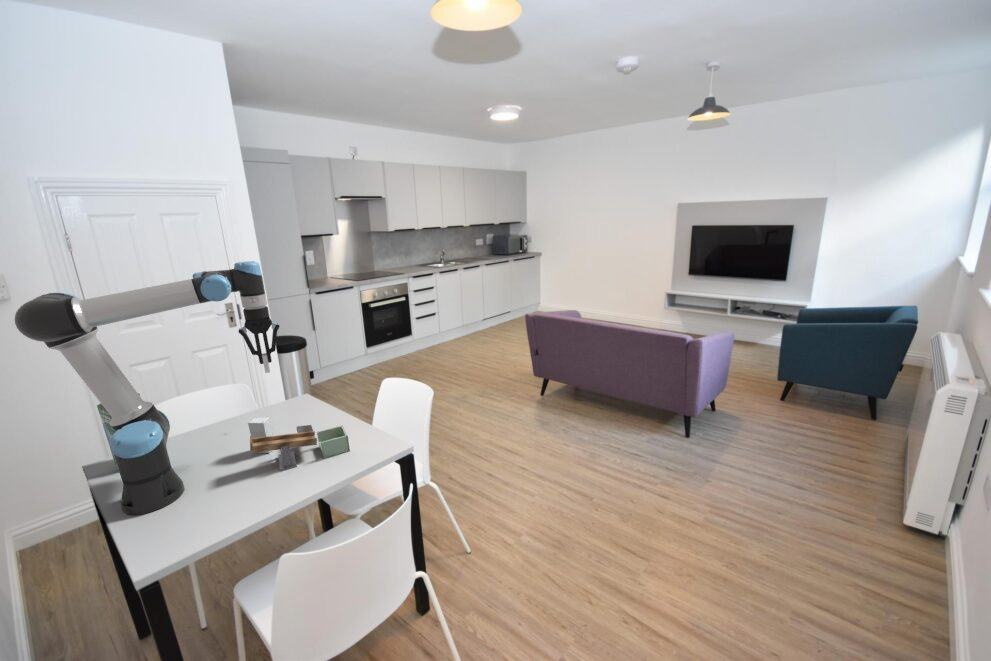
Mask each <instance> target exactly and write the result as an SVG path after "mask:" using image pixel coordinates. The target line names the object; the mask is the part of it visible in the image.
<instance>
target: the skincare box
mask: <svg viewBox="0 0 991 661" xmlns="http://www.w3.org/2000/svg"><path fill="white" fill-rule="evenodd" d="M247 425H248V429H249V434H250V436H252V438H259V437H268V436H275V435H274V431H273V425H272V420H271V418H270V417H254V418H253V419H251V420H250V421H248V423H247ZM271 452H272V451H264V452H257V453H256V454H270V453H271Z"/></svg>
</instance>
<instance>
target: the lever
mask: <svg viewBox="0 0 991 661" xmlns="http://www.w3.org/2000/svg"><path fill="white" fill-rule="evenodd" d="M296 432H297V433H287V434H286V435H285V434H278V435H274V436H268V437H259V438H252V436H251V435H250V437H249V439H250V440H249V449H250V451H249V452H250V454H258V453H257V452H264V451H271V452H272V451H281V446H285V445H288V446H289V449H294V448H302V447H310V446H317V445H318V444H317V443H318V437H316V435H315V434H316V432H315V430H314V429H313V426H312V424H308V425H297V426H296Z"/></svg>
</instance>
